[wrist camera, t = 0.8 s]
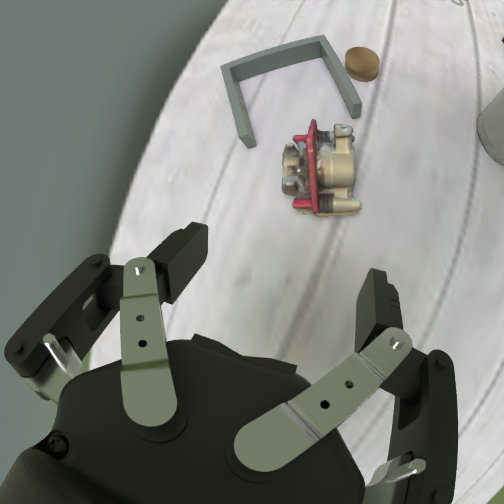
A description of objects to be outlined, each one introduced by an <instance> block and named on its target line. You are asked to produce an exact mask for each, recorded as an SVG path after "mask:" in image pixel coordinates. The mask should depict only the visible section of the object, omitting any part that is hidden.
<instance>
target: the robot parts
mask: <svg viewBox="0 0 504 504" xmlns="http://www.w3.org/2000/svg"><path fill="white" fill-rule="evenodd" d="M451 1H452V2H453V3H455V4H457V5H460V6H463V5H464V3H463V2H462V1H461V0H459V1H460V2H461V3H457V2H455V1H454V0H451ZM466 1H468V0H466Z"/></svg>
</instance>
